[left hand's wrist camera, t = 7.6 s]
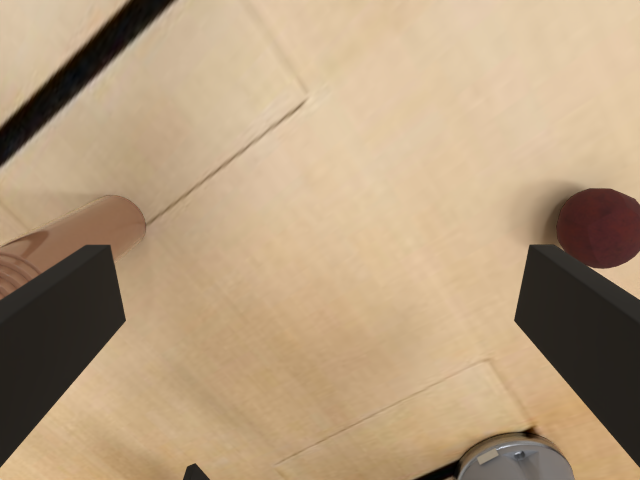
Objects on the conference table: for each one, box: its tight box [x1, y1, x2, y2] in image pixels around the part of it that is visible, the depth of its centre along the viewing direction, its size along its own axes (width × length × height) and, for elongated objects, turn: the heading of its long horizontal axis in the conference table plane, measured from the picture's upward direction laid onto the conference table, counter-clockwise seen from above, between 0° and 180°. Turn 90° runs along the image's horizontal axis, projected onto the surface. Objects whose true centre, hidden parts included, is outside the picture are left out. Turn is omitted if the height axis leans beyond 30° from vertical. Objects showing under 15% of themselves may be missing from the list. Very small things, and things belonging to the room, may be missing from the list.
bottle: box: [0, 195, 146, 300], centre depth 31 cm, size 6×6×21 cm
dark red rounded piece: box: [557, 189, 640, 269], centre depth 37 cm, size 7×8×7 cm
